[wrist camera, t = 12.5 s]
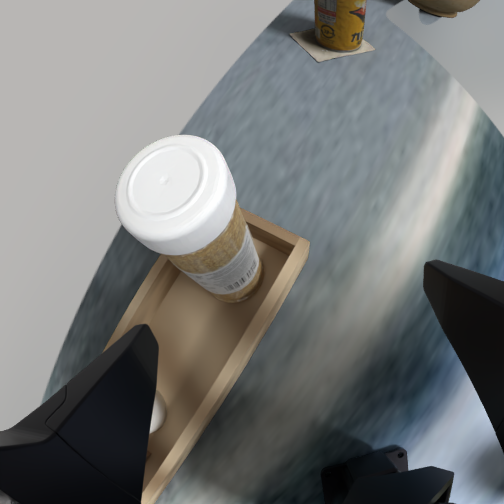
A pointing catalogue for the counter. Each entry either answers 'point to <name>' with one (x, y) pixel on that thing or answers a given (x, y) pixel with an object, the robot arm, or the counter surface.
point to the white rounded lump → (158, 412)
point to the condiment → (335, 30)
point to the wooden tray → (205, 342)
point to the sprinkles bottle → (191, 215)
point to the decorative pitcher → (444, 6)
